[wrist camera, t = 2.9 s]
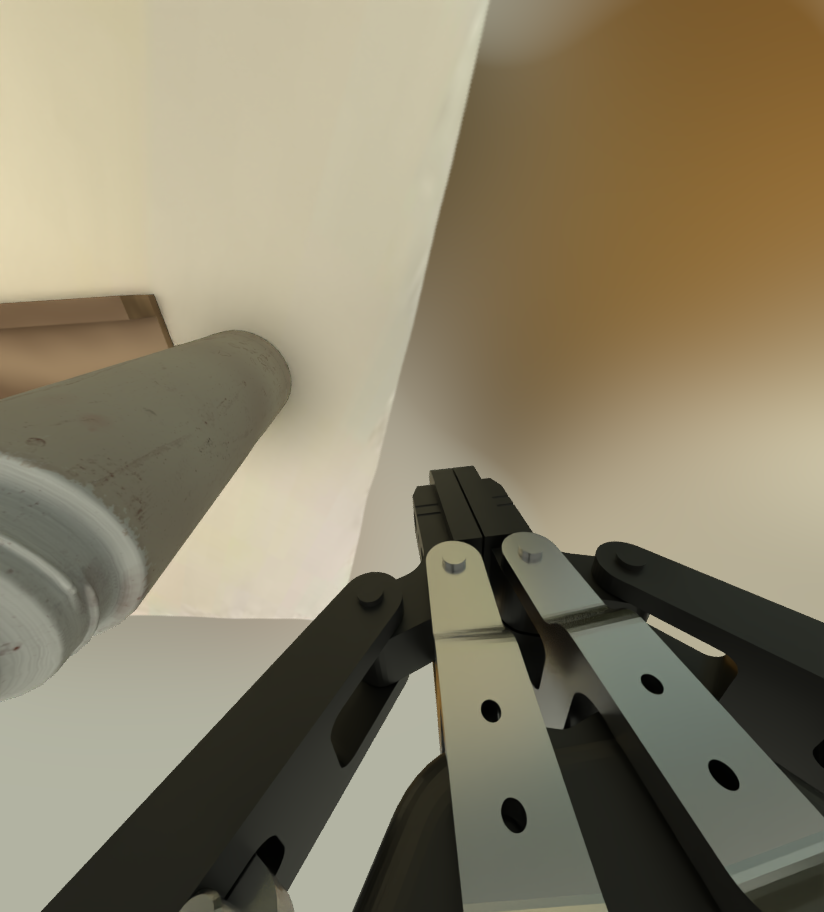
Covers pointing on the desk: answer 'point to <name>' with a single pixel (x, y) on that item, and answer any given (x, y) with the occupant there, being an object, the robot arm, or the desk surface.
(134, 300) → the walnut trough
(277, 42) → the desk surface
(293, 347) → the desk surface
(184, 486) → the thermos bottle
